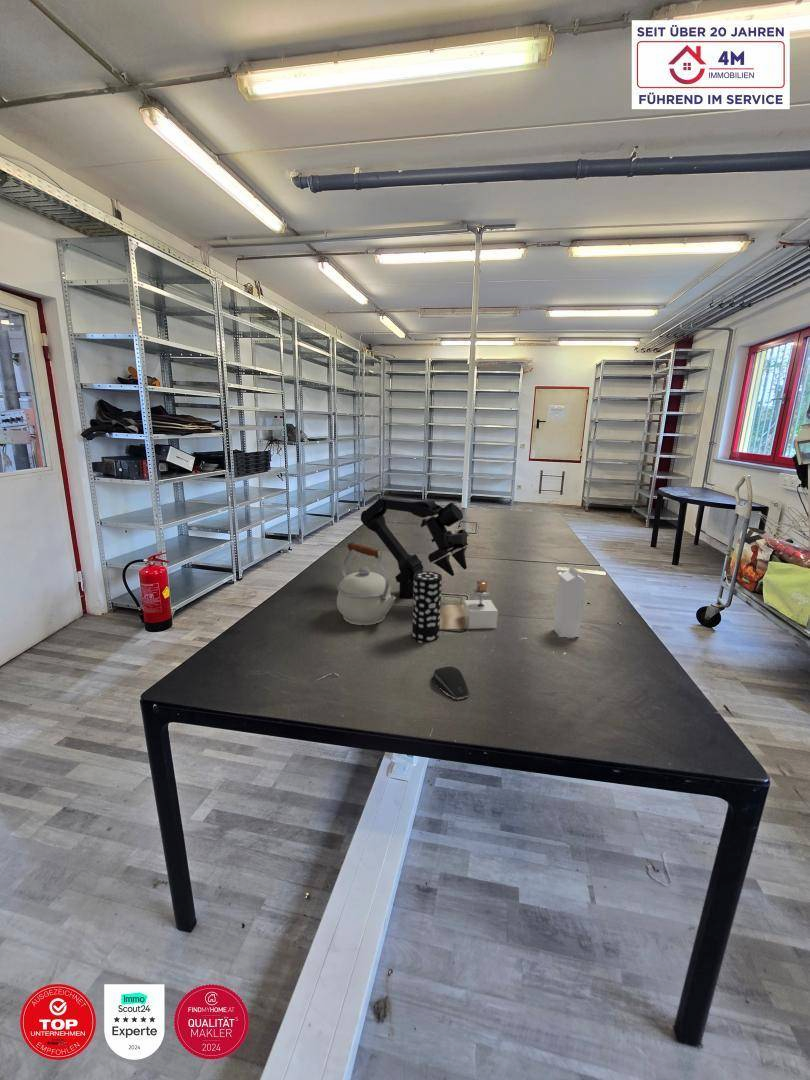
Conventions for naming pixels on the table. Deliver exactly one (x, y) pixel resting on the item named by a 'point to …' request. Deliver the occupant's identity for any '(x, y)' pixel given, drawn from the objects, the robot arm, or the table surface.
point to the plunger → (481, 591)
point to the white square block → (480, 614)
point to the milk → (569, 604)
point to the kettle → (364, 591)
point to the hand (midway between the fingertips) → (459, 572)
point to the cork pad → (452, 617)
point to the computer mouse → (451, 681)
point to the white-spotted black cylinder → (426, 606)
